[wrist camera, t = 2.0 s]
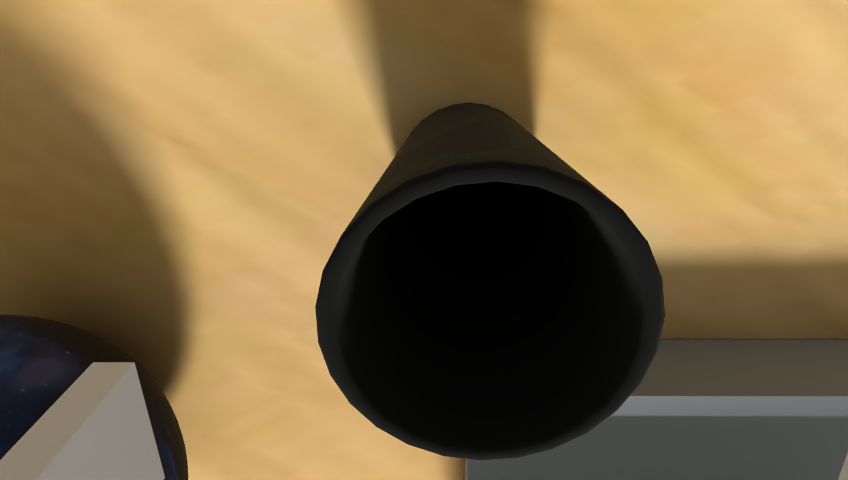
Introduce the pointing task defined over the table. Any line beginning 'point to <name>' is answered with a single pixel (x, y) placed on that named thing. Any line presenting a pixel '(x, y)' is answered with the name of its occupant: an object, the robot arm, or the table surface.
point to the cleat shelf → (712, 419)
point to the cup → (487, 295)
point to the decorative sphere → (69, 382)
